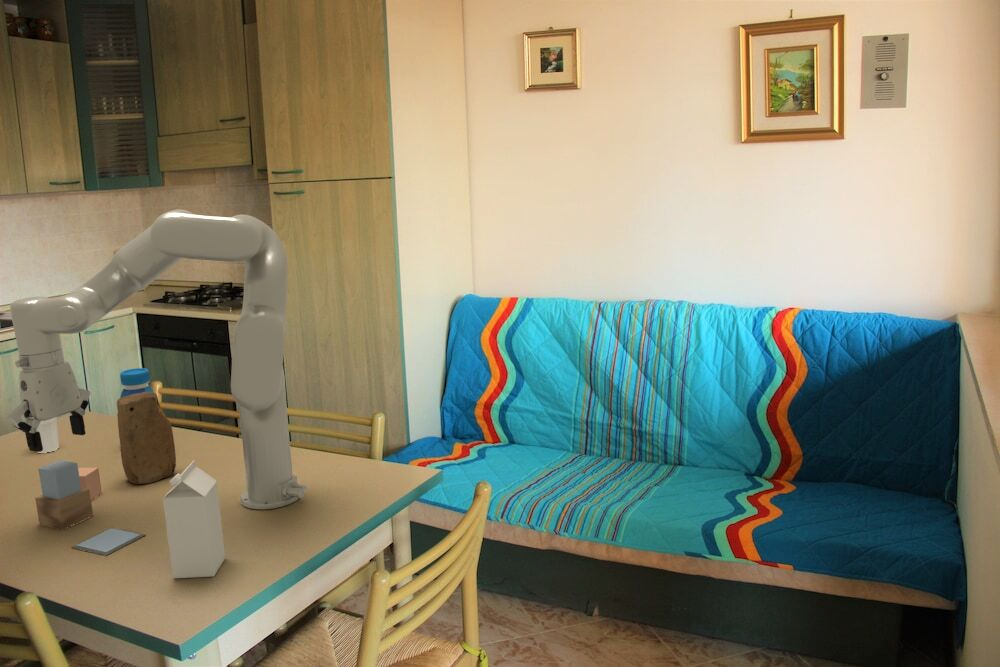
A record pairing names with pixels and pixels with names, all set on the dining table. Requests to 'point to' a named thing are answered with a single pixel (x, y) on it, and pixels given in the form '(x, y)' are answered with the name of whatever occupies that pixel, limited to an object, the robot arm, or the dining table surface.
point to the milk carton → (194, 524)
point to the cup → (48, 435)
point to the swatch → (108, 541)
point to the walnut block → (64, 509)
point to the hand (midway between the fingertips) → (58, 442)
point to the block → (145, 438)
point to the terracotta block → (90, 480)
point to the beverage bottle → (135, 381)
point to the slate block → (59, 479)
